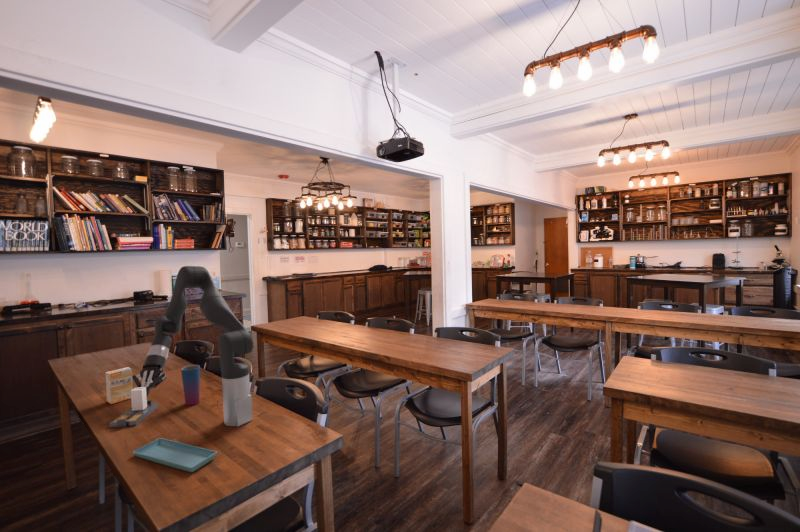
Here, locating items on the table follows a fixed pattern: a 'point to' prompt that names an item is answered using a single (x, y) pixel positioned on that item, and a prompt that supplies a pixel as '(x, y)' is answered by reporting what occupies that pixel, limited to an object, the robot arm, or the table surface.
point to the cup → (191, 384)
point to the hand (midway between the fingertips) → (142, 397)
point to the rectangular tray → (175, 454)
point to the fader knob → (138, 398)
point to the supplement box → (119, 385)
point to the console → (134, 416)
